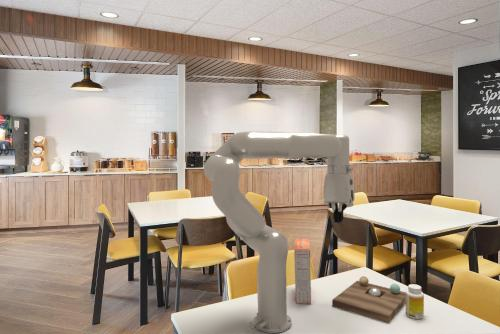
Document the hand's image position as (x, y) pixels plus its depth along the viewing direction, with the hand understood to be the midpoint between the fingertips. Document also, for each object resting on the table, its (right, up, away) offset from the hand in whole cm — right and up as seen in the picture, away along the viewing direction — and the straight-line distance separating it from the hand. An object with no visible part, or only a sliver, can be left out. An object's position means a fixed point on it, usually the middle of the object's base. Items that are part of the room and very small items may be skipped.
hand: (338, 221), depth 126 cm
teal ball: (+23, -26, +7) cm, 35 cm away
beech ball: (+14, -26, +14) cm, 32 cm away
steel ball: (+15, -28, +7) cm, 33 cm away
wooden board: (+13, -31, +5) cm, 34 cm away
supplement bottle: (+25, -31, -5) cm, 40 cm away
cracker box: (-11, -31, +12) cm, 35 cm away
